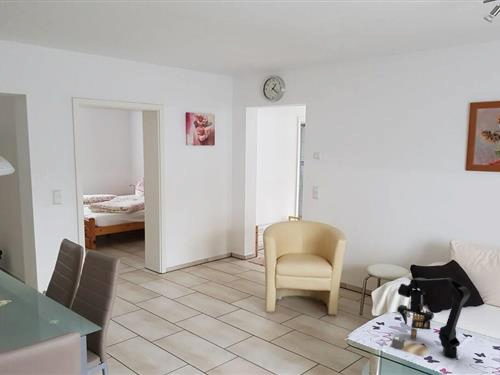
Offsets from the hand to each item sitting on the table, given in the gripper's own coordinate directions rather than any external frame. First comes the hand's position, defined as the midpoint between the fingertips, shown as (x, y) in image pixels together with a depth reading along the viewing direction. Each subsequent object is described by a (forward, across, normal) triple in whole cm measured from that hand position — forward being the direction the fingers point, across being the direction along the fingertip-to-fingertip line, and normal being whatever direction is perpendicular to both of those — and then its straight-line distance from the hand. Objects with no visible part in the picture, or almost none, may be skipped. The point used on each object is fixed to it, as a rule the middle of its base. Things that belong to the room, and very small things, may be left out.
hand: (414, 326), depth 235 cm
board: (+9, -1, +11) cm, 14 cm away
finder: (+8, +4, +15) cm, 17 cm away
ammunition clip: (+9, +2, -23) cm, 25 cm away
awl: (+9, 0, 0) cm, 9 cm away
